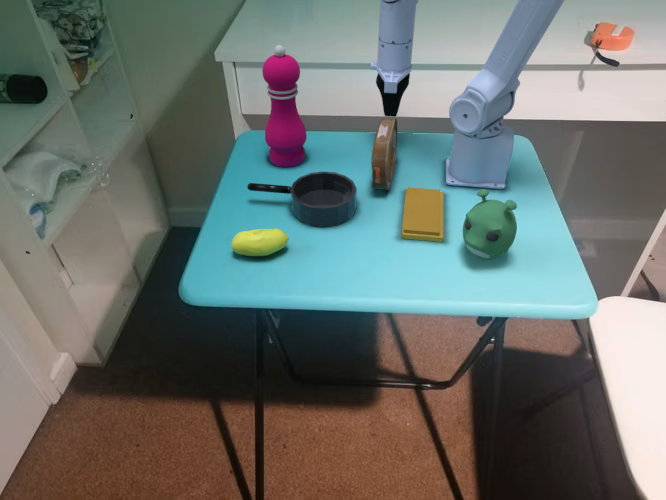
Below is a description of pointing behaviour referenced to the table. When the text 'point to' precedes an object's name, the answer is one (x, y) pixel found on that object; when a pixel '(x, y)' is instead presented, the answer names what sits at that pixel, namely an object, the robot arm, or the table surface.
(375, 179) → the tin
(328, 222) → the pan
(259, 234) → the lemon
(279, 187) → the pan handle
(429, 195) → the yellow flat slab
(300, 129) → the pepper mill
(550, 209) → the table surface
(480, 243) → the alien toy
